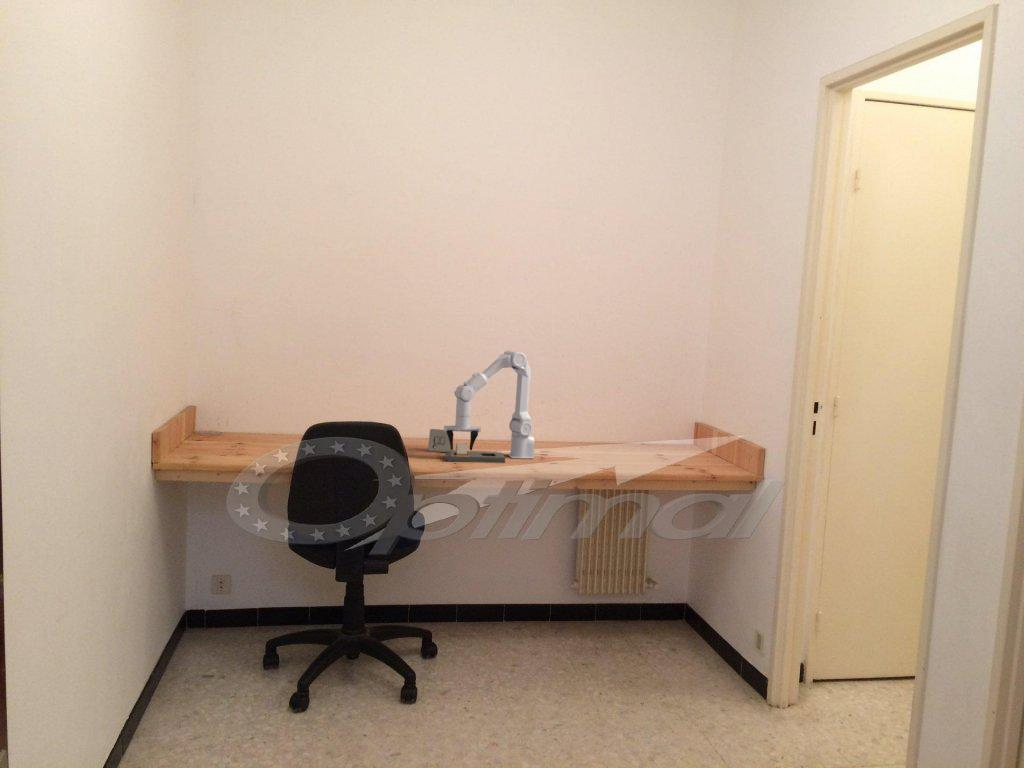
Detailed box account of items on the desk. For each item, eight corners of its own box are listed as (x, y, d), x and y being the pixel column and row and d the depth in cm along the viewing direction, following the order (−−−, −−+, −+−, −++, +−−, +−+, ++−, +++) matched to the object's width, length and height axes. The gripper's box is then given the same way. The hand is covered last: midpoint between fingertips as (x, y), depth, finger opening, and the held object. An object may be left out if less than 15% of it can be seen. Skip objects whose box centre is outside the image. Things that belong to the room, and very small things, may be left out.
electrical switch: (427, 451, 326) (429, 429, 326) (429, 450, 331) (431, 428, 331) (449, 453, 325) (451, 430, 325) (451, 452, 331) (453, 429, 330)
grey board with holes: (500, 457, 322) (501, 452, 322) (504, 462, 313) (505, 457, 312) (444, 456, 318) (444, 450, 318) (447, 461, 308) (447, 456, 308)
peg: (465, 458, 317) (465, 443, 316) (466, 460, 313) (467, 445, 312) (455, 458, 316) (456, 443, 315) (456, 460, 312) (457, 445, 311)
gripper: (479, 414, 318) (477, 447, 319) (443, 413, 315) (442, 447, 316) (482, 417, 311) (480, 451, 312) (445, 416, 308) (443, 450, 309)
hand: (461, 449), depth 314 cm, fingers open, 7 cm apart
